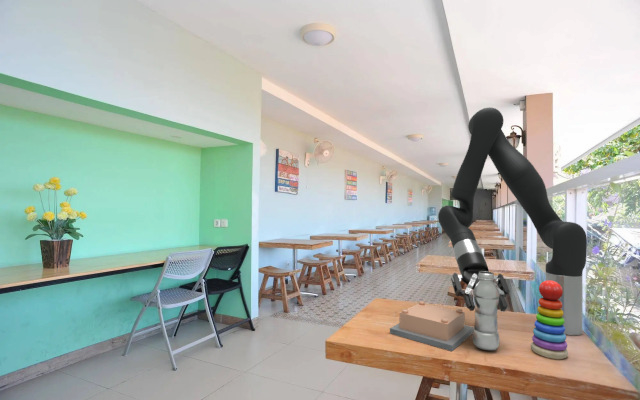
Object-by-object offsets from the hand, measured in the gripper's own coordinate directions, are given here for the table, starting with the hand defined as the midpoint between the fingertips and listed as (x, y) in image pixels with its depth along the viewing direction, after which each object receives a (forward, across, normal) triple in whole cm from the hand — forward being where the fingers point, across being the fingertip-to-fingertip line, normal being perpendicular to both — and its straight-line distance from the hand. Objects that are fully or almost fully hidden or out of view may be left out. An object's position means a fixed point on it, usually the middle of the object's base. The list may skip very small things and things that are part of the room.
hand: (488, 309), depth 88 cm
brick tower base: (-1, -11, +16) cm, 19 cm away
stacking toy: (+8, +15, +7) cm, 19 cm away
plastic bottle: (+7, 0, +9) cm, 11 cm away
